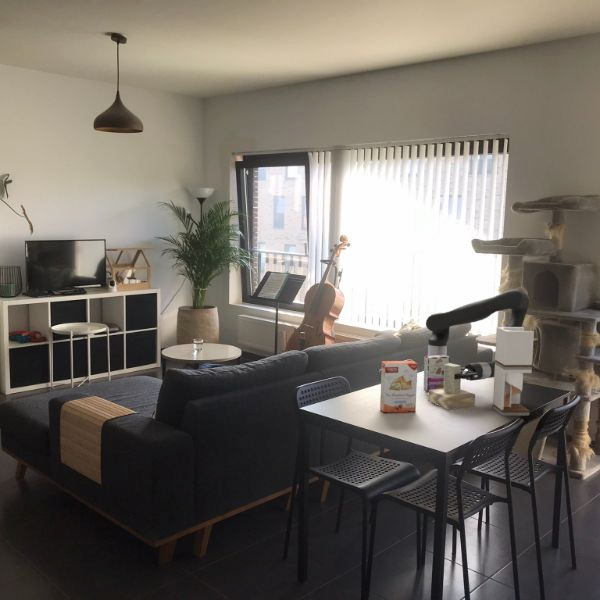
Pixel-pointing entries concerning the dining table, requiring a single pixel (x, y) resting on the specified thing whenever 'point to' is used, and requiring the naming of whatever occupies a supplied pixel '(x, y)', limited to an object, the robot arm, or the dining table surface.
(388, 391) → the cracker box
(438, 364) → the candy bar box
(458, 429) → the dining table surface
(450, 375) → the skincare box
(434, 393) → the birch plinth
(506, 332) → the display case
